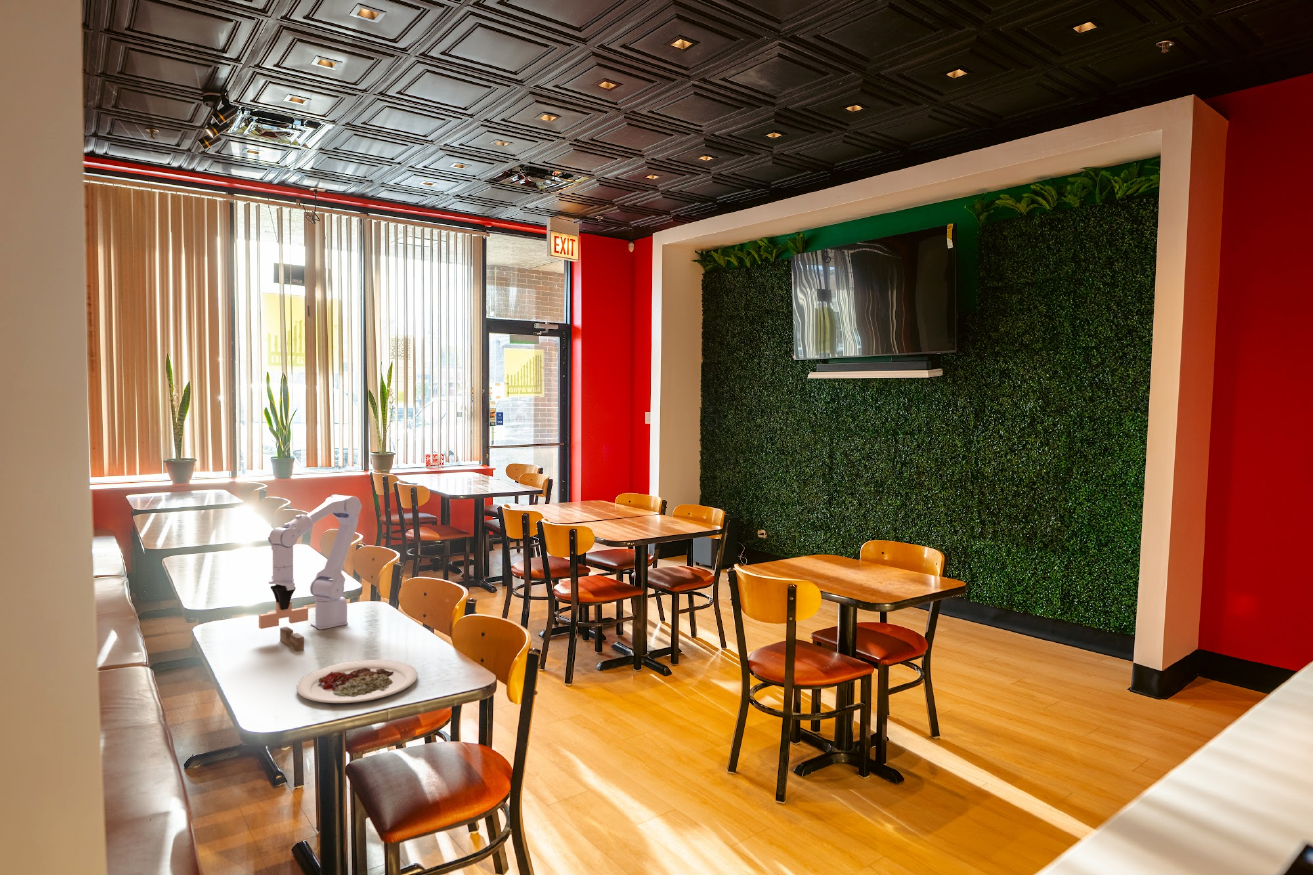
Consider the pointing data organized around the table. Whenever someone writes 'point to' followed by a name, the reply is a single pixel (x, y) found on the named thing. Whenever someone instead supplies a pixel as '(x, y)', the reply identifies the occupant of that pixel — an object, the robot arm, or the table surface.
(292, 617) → the salmon stepped block
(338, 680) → the plated food
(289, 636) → the walnut notched bar
